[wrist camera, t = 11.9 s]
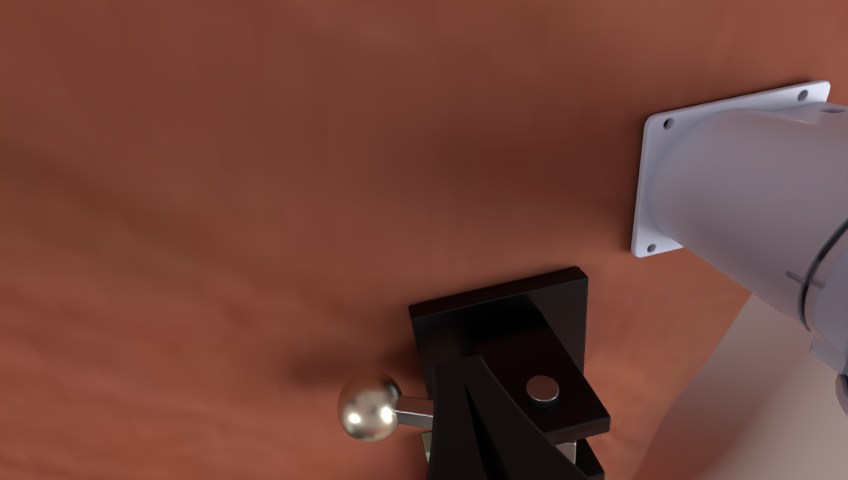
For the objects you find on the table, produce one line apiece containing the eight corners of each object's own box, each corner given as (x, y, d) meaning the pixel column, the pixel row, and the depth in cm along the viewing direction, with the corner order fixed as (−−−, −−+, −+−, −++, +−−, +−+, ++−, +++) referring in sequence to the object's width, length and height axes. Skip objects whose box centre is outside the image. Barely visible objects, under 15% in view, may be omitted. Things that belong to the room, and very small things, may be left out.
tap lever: (361, 395, 25) (335, 450, 22) (347, 353, 23) (316, 407, 20) (572, 425, 21) (574, 496, 18) (574, 377, 19) (577, 447, 17)
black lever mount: (429, 400, 27) (459, 542, 19) (407, 305, 23) (436, 438, 15) (574, 364, 27) (656, 488, 20) (578, 265, 23) (681, 375, 16)
